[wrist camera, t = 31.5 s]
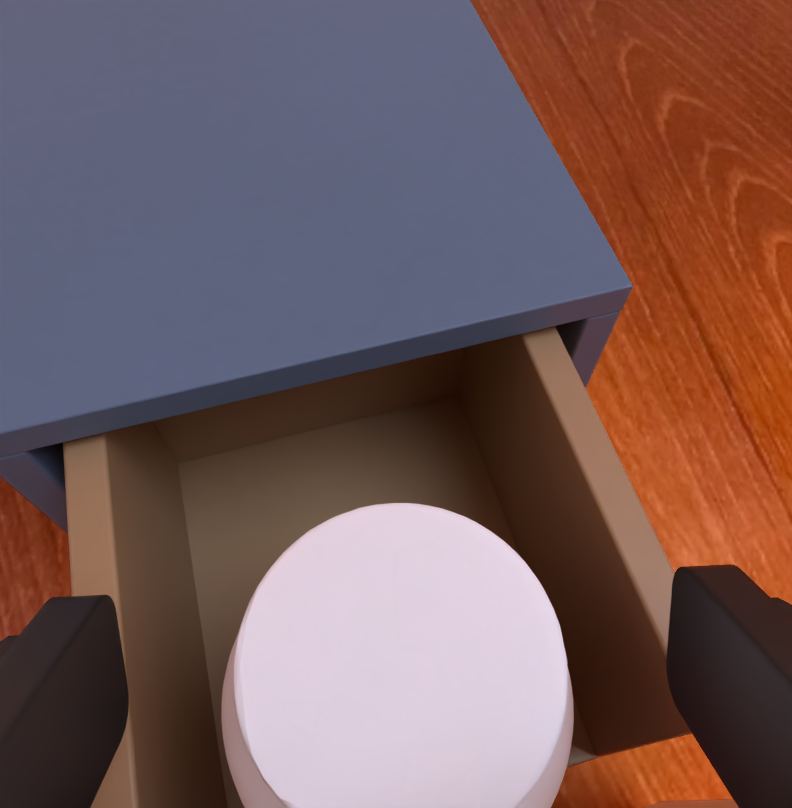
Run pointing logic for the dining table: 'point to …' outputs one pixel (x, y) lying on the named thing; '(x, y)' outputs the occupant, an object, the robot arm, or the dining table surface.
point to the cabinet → (265, 209)
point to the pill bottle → (398, 671)
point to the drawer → (348, 490)
